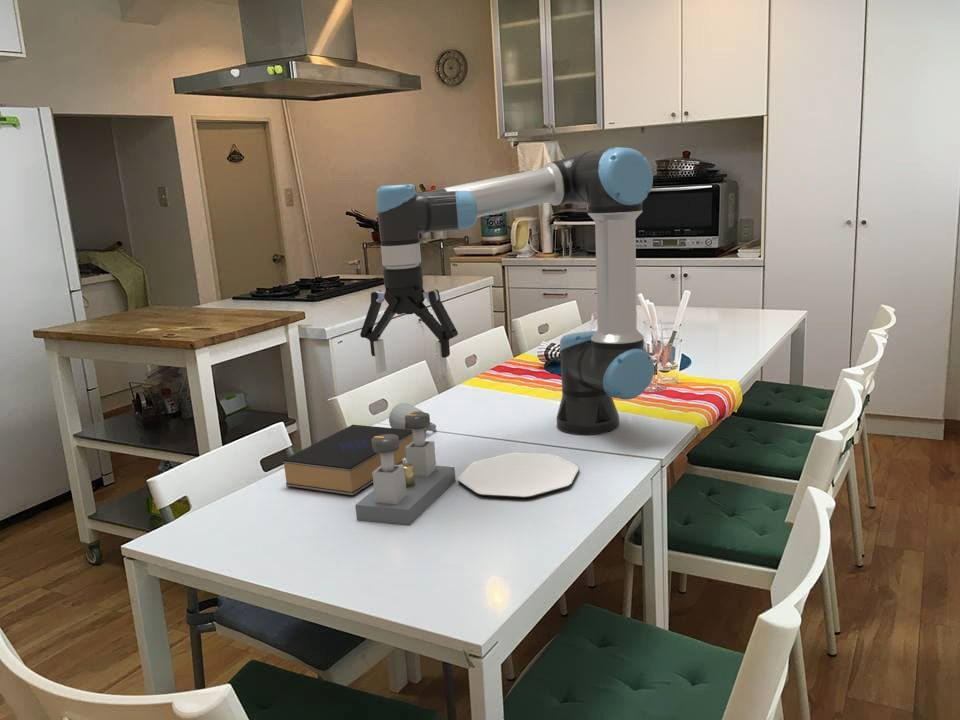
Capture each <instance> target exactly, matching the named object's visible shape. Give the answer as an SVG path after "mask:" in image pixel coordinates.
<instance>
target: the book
mask: <svg viewBox="0 0 960 720" xmlns="http://www.w3.org/2000/svg"><path fill="white" fill-rule="evenodd" d="M383 434H395V435H397V436H398V437H399V447H400V448H399V449H398V450H396V451H393V457H394V465H400V464H403V462H402V458H406V451H405V447H406V446H408V445H409V444H410V443H412V442H413V432H412V430H407V429H396V428H391V427H386V426H385V427H383V426H373V425H372V426H371V425H362V424H351V425H349V426H347V427H345V428H343V429H341V430H339V431H338V432H335V433H333V434H332V435H329V436H327V437H326V438H325V437H324V438H323V439H322V440H319V441H317V442H315V443H313V444H312V445H309V446H307V447H306V448H304V449H302V450H300V451H298V452H295V453H294V454H292V455H289V456H288V457H286V458H284V459H282V463H283V464H284V465H283V466H284V472H285V481H286V483H285V486H286V487H290V488H297V489H304V490H312V491H319V492H324V493H325V492H326V493H333V494H338V495H339V494H341V495H347V496H355V495H356V494H358V493H359V492H361V491H363V490H364V489H366V488H367V487H369V486H371V485H372V484H373V475H372V472H373V471H375V470H376V469H377V468H379V467H380V466H381V457H380V453H376V452H374V451H373V449H372V438H373V437H375V436H378V435H383Z"/></svg>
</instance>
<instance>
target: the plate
mask: <svg viewBox="0 0 960 720" xmlns="http://www.w3.org/2000/svg"><path fill="white" fill-rule="evenodd" d="M579 471H580V467H579V466H578V465H577V464H574V463H573V462H570V461H568V460H567V459H564V458H563V457H560V456H558V455H556V454H552V453H529V452H526V453H525V452H508V453H504V454H500V455H497V456H496V455H495V456H492V457H488V458H484V459H479V460H475V461H473V462H471V463H470V464H469V465H468V466H467V467H466V468H465V469H464V471H463V472H462V473H461V474H460V475H459V476H458V477H457V482H459V483H460V484H462V485H463V486H465V487H466V488H468V489H469V490H471V491H472V492H473V493H475V494H476V495H477V496H481V497H482V496H483V497H494V498H495V497H500V498H516V499H529V498H533V497H537V496H541V495H545V494H549V493H552V492H556V491H558V490H562V489H567V488H568V487H570V486H571V485H572V484H573V481H574V480H575V478H576V476H577V474H578V472H579Z"/></svg>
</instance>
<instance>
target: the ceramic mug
mask: <svg viewBox="0 0 960 720" xmlns="http://www.w3.org/2000/svg"><path fill="white" fill-rule="evenodd" d="M417 412H424V411H423V410H421V409H420V408H418V407H416V406H414V405H413V404H411V403H408V402H400V403H397V404H396V405H395V406H394V407H393V408H392V409H391V410H390V412H389V416H388V422H389V427H390V428H396V429H407V430H412V429H408V428H406V427H405V416H406V415H407V414H411V413H417ZM436 429H437V425H436V424H435V423H433V422H431V421H430V426H428V427H426V428H424V432H425V434H426V433H427V431H431V432H435V431H436Z"/></svg>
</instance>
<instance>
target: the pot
mask: <svg viewBox="0 0 960 720" xmlns="http://www.w3.org/2000/svg"><path fill="white" fill-rule="evenodd" d="M402 462H403V464H400V465H404V471H405V482H406V488H409V487H413V486H414V485H415V479H414V469H413V464H411V463H408V460H407V458H402Z"/></svg>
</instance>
